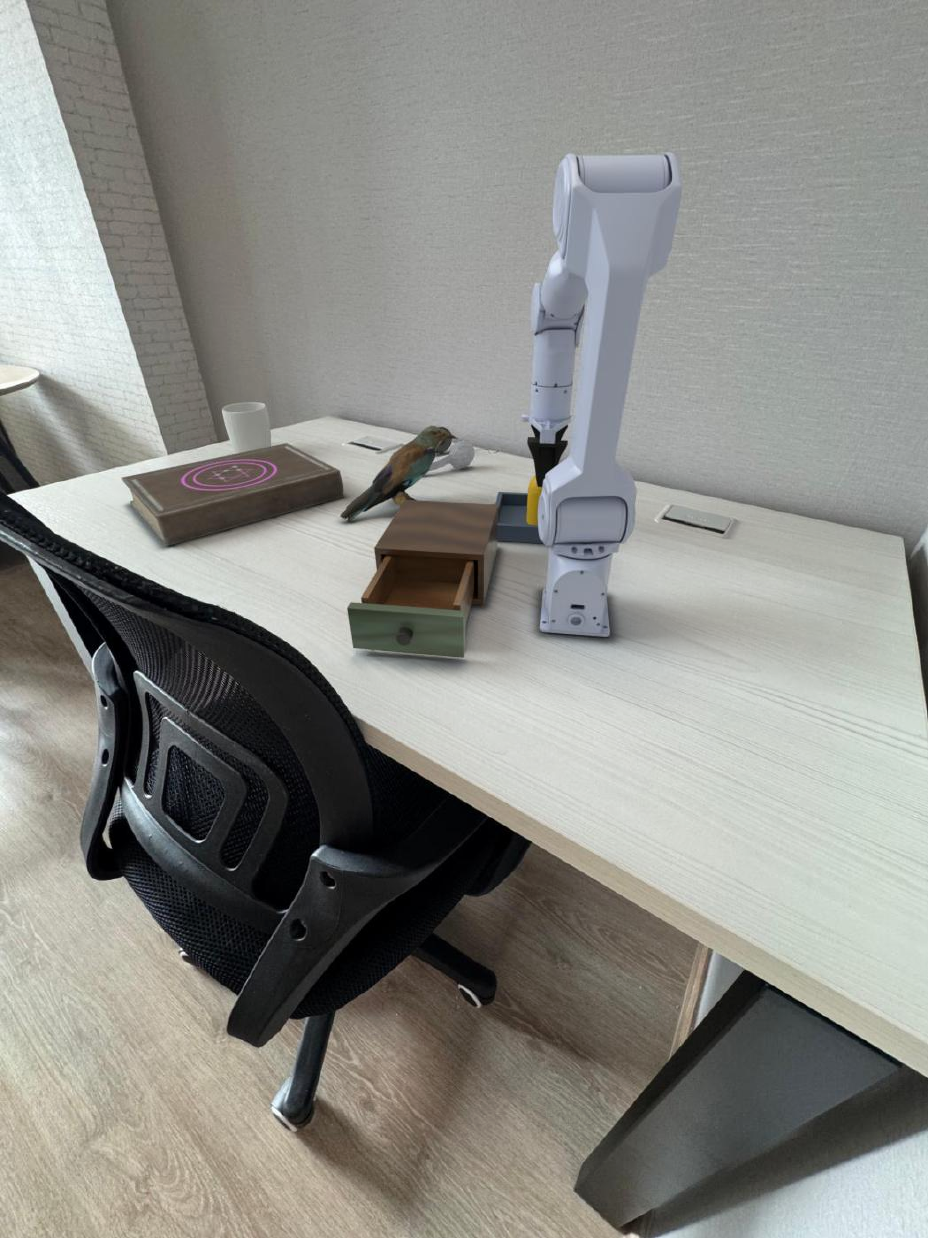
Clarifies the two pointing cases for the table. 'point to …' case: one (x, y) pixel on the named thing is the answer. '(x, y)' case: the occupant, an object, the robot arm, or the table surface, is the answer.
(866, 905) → the table surface
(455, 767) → the table surface
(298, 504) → the book
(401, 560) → the drawer
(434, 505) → the cabinet
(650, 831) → the table surface
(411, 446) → the bird figurine
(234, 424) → the mug
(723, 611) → the table surface
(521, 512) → the tray
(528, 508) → the pepper
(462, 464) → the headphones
